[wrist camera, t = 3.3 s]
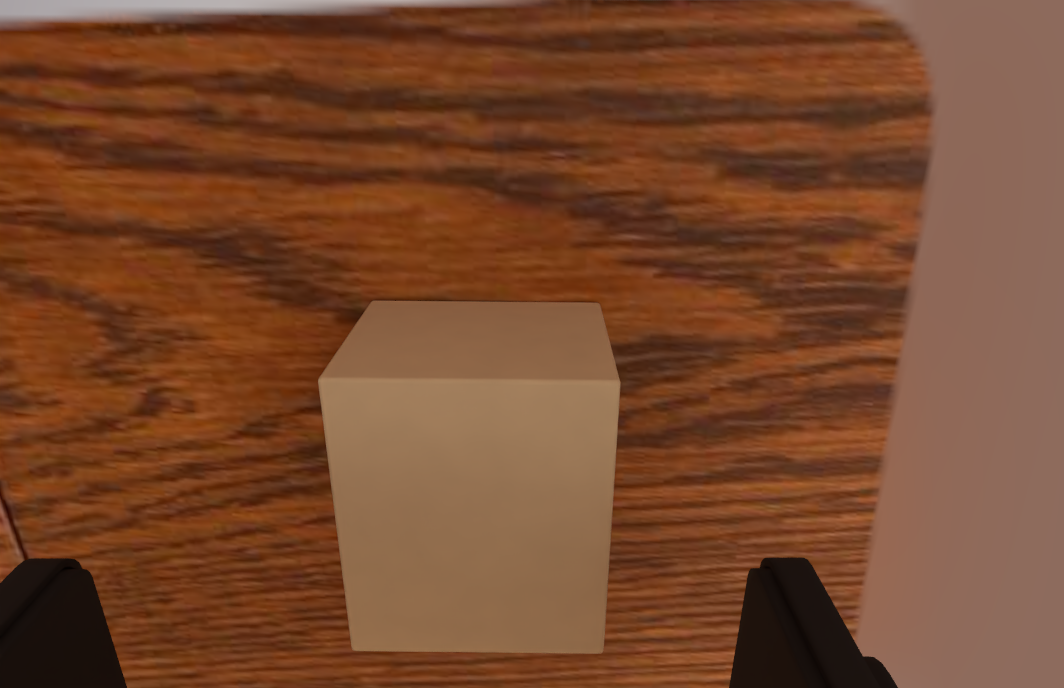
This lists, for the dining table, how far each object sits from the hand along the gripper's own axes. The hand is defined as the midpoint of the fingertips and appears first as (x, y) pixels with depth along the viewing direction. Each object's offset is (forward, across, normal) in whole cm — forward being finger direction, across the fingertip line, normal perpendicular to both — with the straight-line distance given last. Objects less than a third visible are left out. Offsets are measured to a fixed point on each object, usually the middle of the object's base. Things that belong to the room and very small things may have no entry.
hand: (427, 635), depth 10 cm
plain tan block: (+7, 0, 0) cm, 7 cm away
